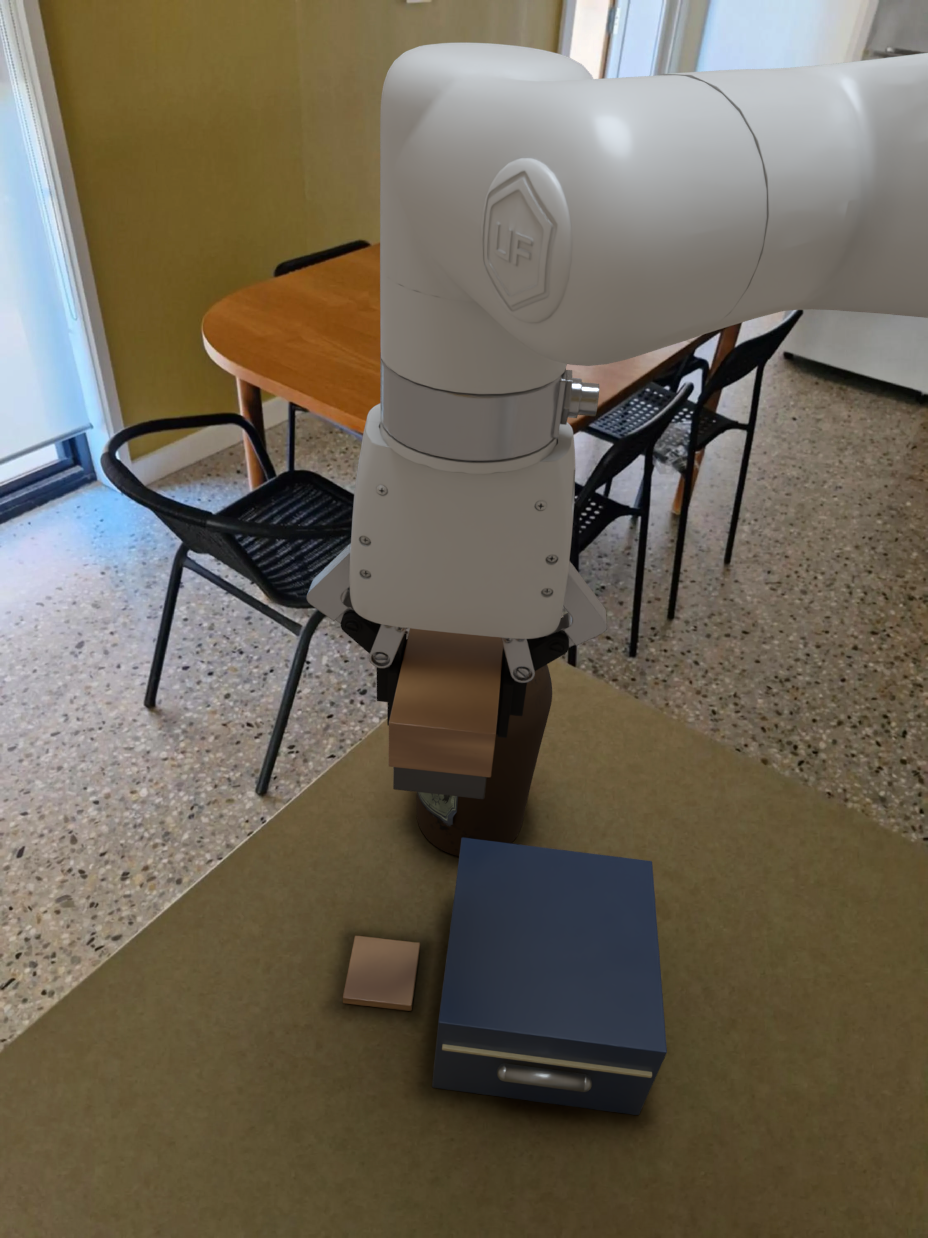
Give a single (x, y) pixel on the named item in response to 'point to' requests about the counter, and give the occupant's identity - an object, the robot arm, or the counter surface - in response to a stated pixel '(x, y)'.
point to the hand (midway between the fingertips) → (450, 711)
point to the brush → (445, 713)
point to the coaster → (382, 973)
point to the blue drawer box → (552, 979)
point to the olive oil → (494, 781)
